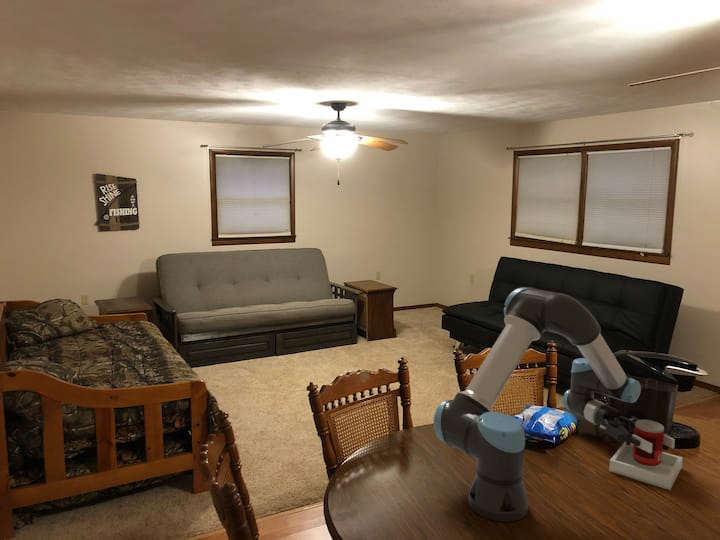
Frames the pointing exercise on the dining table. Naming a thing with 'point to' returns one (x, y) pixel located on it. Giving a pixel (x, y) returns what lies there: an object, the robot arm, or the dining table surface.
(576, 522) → the dining table surface
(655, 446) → the canned food
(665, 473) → the tray
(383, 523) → the dining table surface
